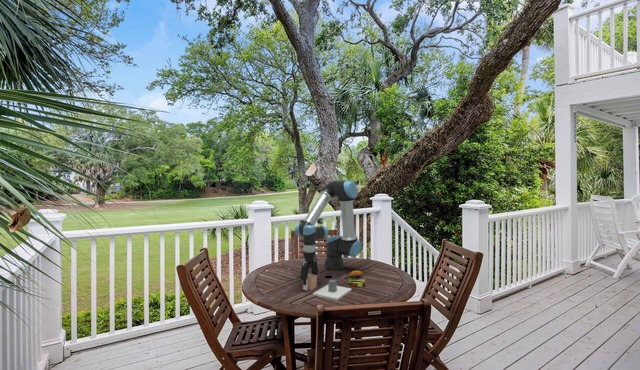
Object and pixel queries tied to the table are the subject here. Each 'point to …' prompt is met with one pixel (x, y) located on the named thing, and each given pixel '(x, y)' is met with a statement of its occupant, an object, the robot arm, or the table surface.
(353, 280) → the cheeseburger
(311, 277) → the tan wooden block
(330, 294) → the post board
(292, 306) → the table surface
